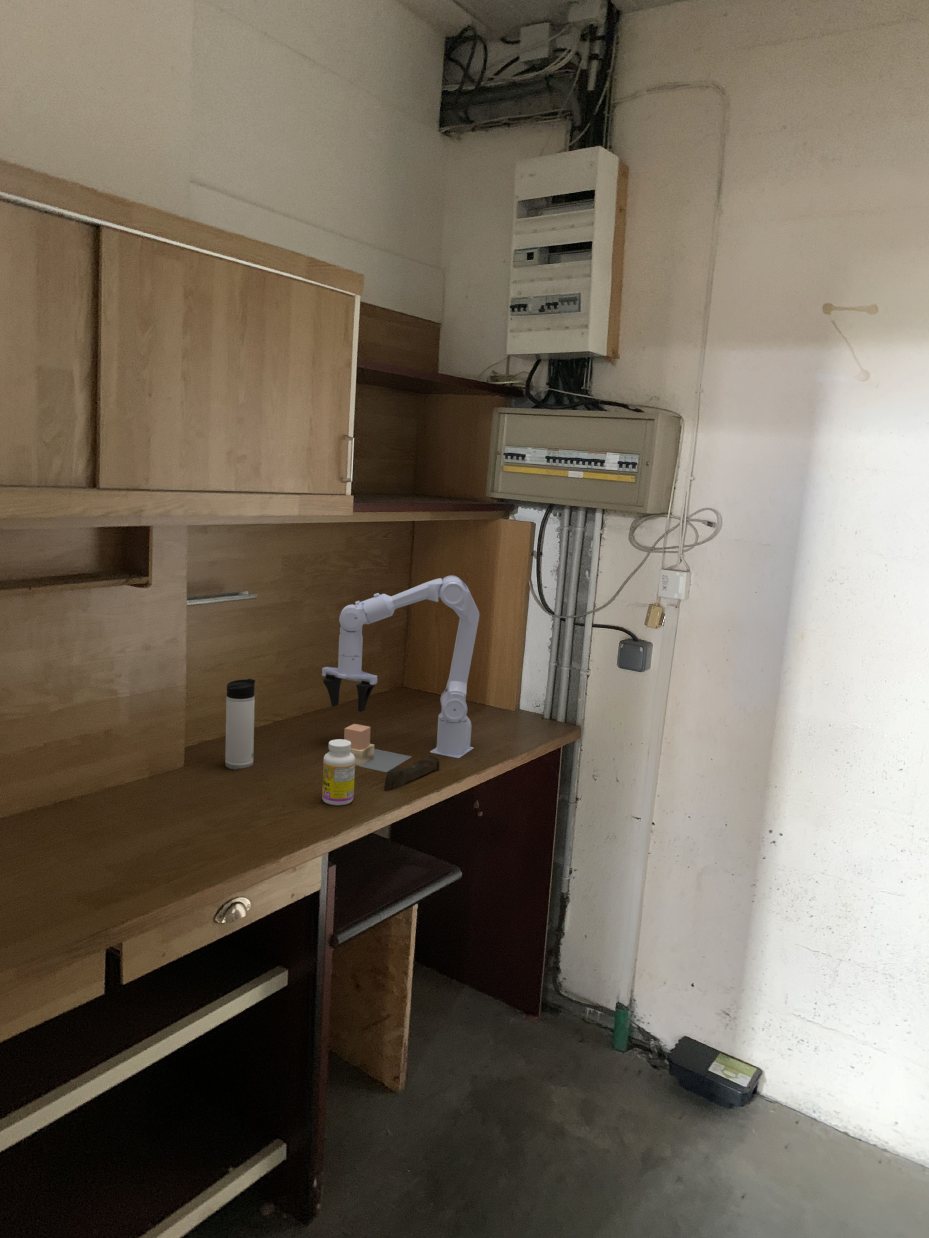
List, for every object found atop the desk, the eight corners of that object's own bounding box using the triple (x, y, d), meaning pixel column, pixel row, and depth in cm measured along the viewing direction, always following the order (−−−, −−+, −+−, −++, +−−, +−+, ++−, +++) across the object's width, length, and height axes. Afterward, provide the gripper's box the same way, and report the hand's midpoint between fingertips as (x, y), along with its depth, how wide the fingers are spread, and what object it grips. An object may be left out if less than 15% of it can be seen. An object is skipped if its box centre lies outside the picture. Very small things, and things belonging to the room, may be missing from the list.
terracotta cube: (353, 741, 220) (354, 723, 219) (369, 744, 218) (370, 726, 217) (343, 746, 216) (344, 728, 215) (360, 750, 214) (361, 731, 213)
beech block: (352, 753, 221) (352, 740, 221) (373, 758, 219) (374, 744, 219) (339, 760, 216) (339, 746, 215) (361, 765, 214) (361, 751, 213)
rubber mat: (362, 748, 228) (362, 746, 228) (412, 758, 222) (412, 756, 222) (334, 762, 216) (334, 760, 216) (386, 774, 211) (386, 772, 211)
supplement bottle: (320, 795, 196) (322, 737, 193) (351, 793, 197) (353, 737, 195) (323, 807, 189) (325, 748, 187) (355, 805, 191) (358, 747, 189)
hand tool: (426, 769, 217) (427, 750, 216) (440, 773, 214) (440, 754, 213) (374, 790, 201) (375, 770, 200) (388, 795, 199) (389, 774, 198)
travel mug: (260, 765, 211) (261, 681, 208) (236, 772, 206) (238, 686, 202) (243, 758, 215) (244, 676, 211) (219, 764, 210) (220, 680, 206)
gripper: (316, 652, 222) (314, 706, 224) (368, 661, 216) (365, 716, 218) (331, 648, 228) (329, 700, 230) (382, 656, 222) (380, 710, 225)
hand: (348, 708), depth 225 cm, fingers open, 7 cm apart
